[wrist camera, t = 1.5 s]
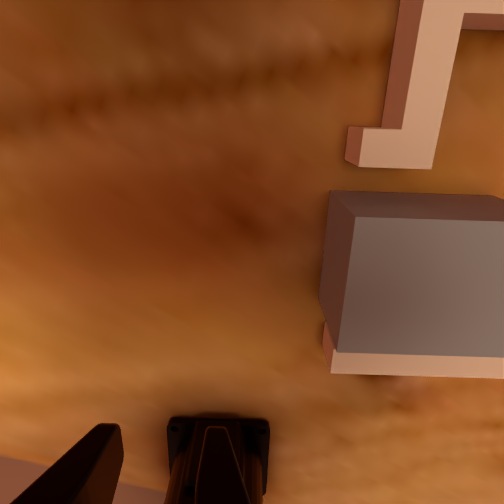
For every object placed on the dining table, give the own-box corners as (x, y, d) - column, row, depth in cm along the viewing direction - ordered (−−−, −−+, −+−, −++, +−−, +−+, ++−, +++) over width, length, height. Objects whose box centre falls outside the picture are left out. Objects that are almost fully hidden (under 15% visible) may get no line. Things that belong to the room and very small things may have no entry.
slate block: (461, 301, 20) (523, 358, 15) (317, 296, 20) (336, 352, 15) (489, 194, 18) (573, 223, 13) (329, 189, 18) (355, 216, 13)
